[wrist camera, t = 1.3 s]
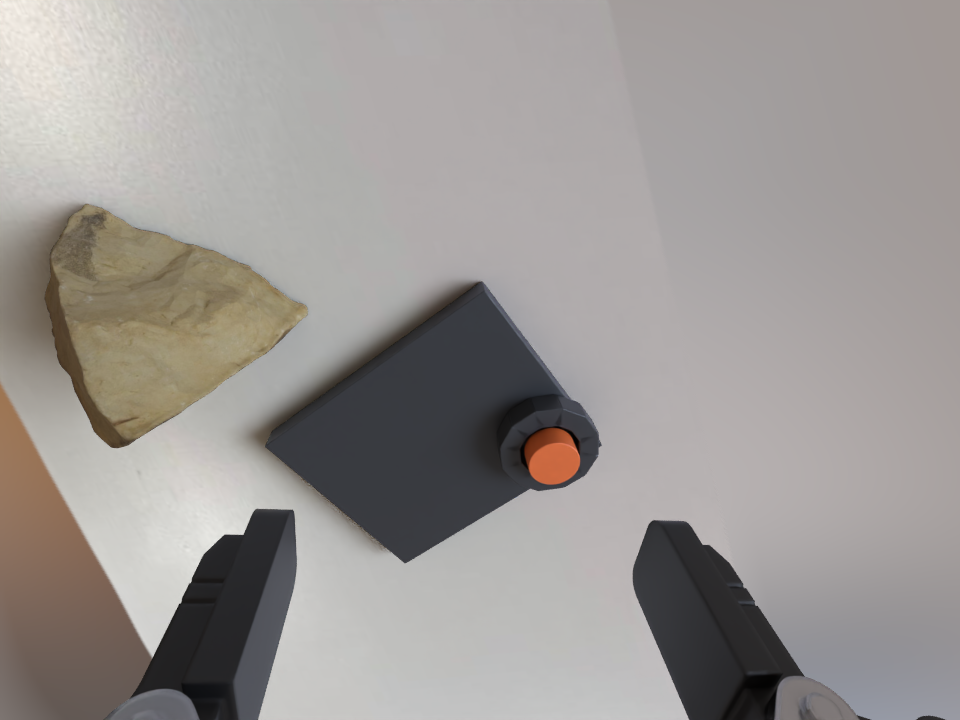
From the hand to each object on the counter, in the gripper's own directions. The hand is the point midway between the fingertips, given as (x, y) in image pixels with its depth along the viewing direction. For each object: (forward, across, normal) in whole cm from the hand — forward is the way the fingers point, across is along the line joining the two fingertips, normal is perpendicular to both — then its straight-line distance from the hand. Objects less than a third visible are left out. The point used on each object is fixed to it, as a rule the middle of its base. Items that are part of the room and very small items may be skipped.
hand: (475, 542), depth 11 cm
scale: (+19, 0, +10) cm, 21 cm away
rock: (+19, +13, +1) cm, 23 cm away
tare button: (+16, -7, +9) cm, 19 cm away
